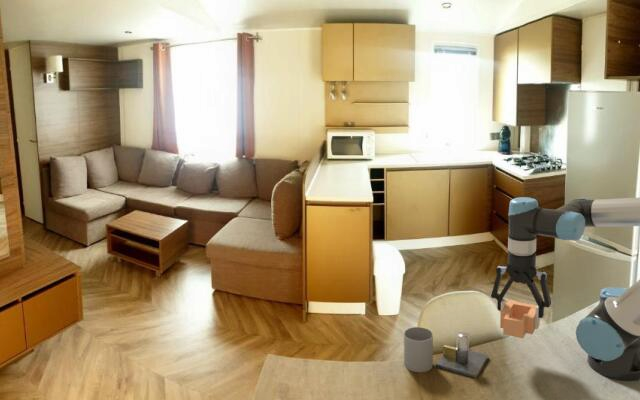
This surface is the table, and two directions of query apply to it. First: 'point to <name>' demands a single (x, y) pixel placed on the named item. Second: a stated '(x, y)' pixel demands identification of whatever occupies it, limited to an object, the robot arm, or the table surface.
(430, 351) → the cup
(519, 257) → the robot arm
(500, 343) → the table surface
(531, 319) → the orange bottle-shaped mold
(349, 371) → the table surface
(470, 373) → the post base
